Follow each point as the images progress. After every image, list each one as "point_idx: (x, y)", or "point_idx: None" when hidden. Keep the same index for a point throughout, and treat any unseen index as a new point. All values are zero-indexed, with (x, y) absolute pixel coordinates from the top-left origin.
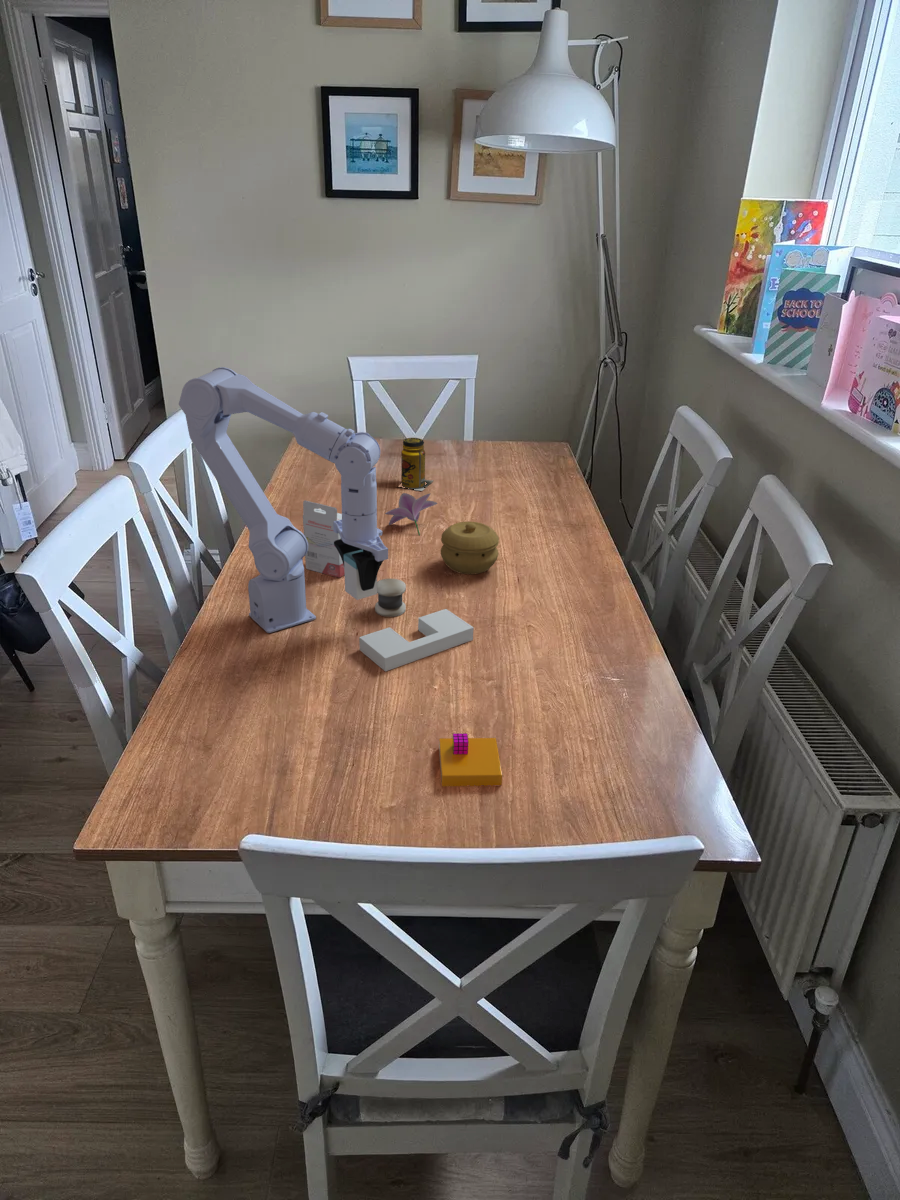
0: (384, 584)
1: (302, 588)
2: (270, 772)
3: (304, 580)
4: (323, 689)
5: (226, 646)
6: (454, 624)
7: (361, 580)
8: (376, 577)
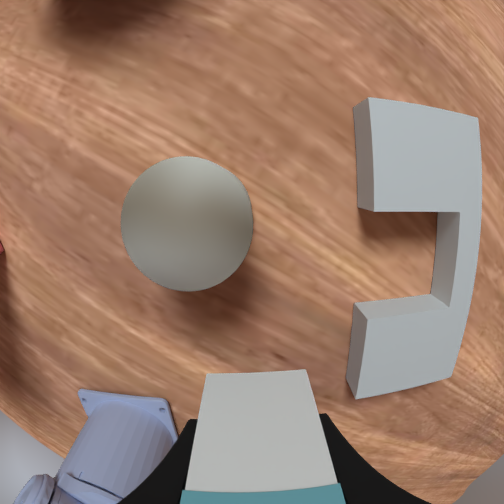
0: (164, 243)
1: (140, 474)
2: (446, 483)
3: (119, 474)
4: (396, 447)
5: None
6: (451, 145)
7: None
8: (320, 424)
